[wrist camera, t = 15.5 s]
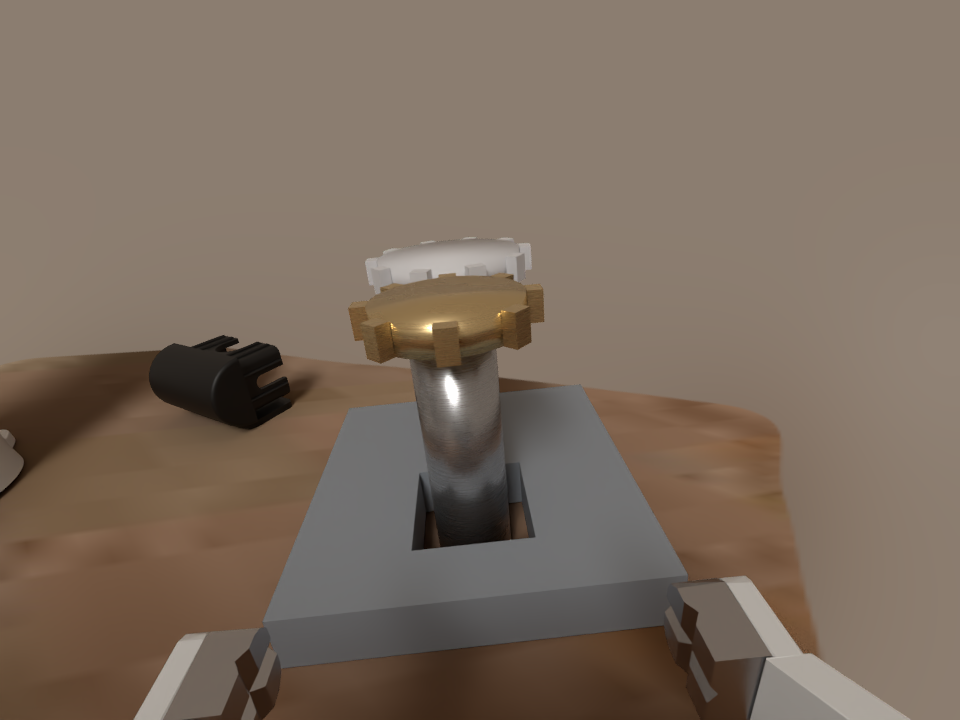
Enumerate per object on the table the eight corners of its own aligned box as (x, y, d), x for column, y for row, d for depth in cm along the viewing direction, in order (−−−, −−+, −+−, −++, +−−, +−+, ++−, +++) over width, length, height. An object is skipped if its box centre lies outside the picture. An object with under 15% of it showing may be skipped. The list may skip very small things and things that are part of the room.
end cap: (164, 422, 43) (136, 355, 40) (234, 389, 49) (214, 328, 46) (228, 447, 38) (201, 373, 35) (298, 407, 44) (279, 340, 41)
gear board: (280, 668, 21) (162, 374, 15) (363, 420, 40) (326, 251, 34) (681, 623, 21) (721, 317, 15) (571, 399, 40) (570, 227, 34)
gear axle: (392, 620, 22) (326, 340, 16) (408, 501, 30) (366, 281, 24) (566, 601, 22) (561, 316, 17) (537, 488, 30) (527, 265, 24)
